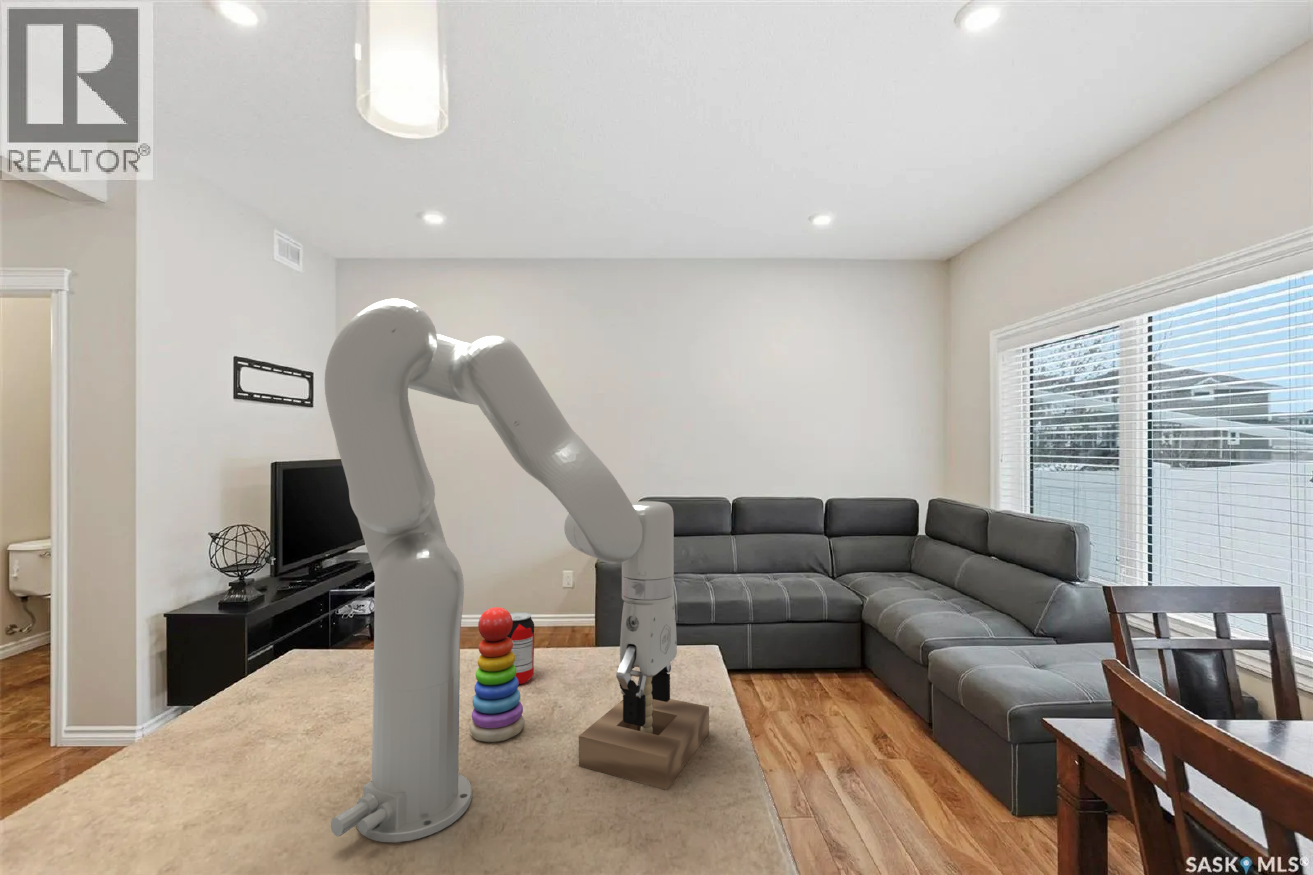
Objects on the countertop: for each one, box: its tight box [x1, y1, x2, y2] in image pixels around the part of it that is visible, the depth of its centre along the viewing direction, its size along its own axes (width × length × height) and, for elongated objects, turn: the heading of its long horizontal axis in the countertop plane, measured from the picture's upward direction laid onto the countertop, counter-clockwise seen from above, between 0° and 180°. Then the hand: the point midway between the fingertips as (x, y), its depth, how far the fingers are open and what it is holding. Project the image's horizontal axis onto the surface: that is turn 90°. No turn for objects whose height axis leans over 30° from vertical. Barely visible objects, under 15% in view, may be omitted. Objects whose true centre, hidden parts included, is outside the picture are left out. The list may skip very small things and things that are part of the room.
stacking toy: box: [469, 606, 525, 743], centre depth 86 cm, size 8×8×19 cm
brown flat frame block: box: [578, 698, 710, 791], centre depth 81 cm, size 16×13×4 cm
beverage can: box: [507, 611, 535, 685], centre depth 106 cm, size 6×6×12 cm
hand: (647, 710), depth 81 cm, fingers open, 7 cm apart
